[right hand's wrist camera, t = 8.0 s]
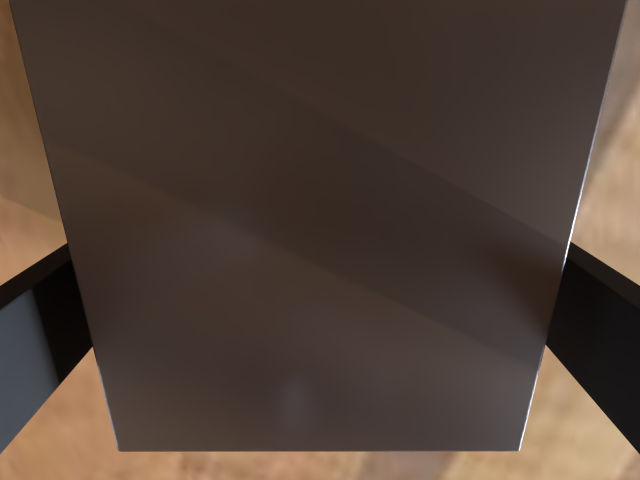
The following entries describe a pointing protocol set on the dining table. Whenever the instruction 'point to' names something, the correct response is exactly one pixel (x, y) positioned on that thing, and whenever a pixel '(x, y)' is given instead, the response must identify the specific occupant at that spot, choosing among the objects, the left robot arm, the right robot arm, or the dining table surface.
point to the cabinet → (318, 209)
